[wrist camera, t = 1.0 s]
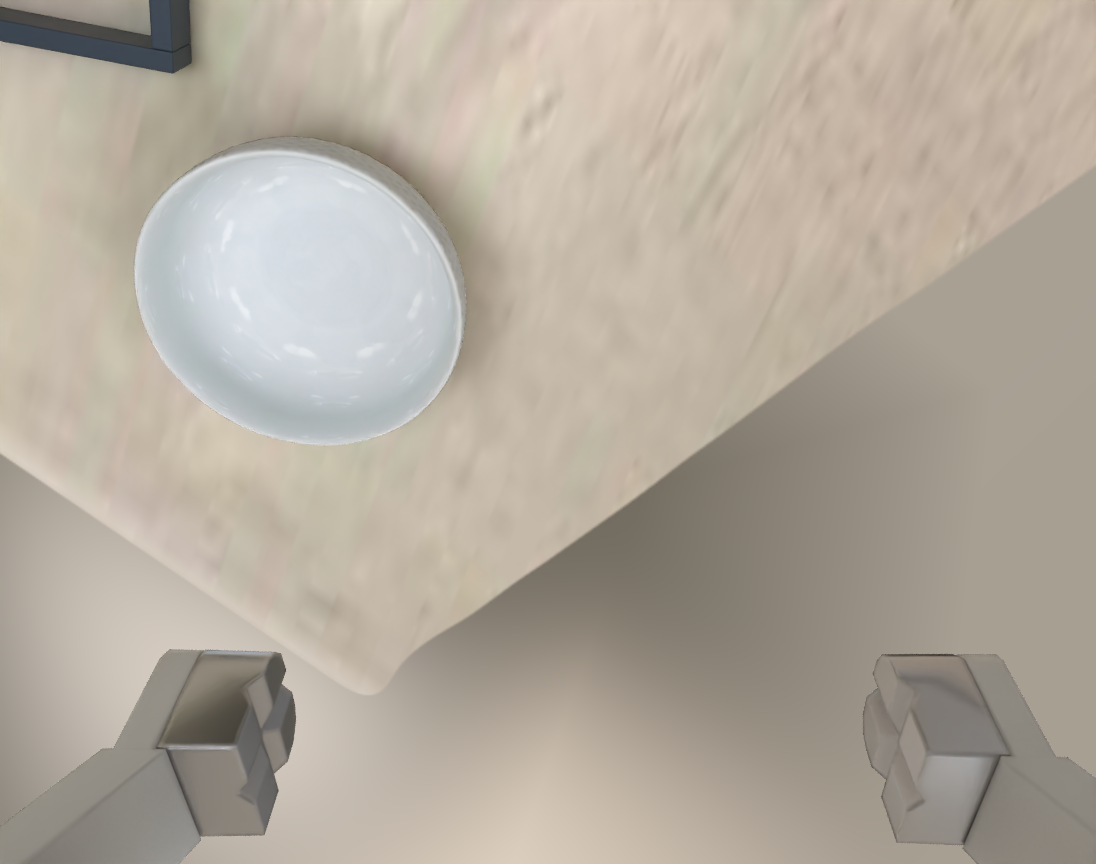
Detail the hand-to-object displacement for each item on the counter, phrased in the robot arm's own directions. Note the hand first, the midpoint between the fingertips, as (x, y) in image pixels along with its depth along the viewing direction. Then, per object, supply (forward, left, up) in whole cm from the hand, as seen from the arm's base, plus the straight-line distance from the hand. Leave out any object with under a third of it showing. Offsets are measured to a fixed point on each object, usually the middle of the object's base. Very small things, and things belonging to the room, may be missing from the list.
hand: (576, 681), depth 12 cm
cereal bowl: (+13, -12, -40) cm, 43 cm away
